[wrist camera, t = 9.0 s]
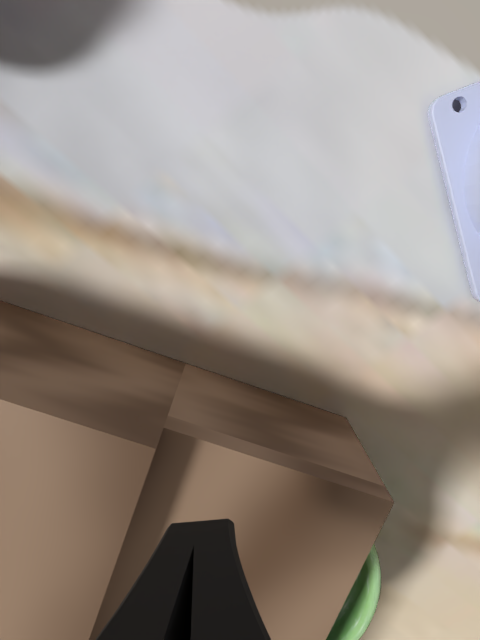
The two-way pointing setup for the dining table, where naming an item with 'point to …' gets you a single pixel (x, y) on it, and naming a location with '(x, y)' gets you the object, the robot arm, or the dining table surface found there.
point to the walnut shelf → (165, 482)
